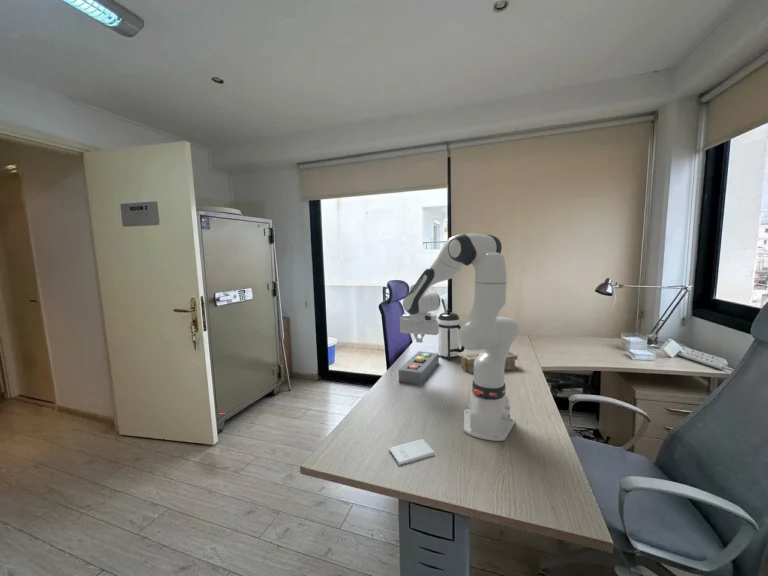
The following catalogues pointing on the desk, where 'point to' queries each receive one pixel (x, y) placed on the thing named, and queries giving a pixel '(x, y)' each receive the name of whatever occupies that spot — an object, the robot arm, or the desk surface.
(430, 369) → the button panel
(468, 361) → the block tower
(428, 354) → the sage button
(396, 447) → the external hard drive
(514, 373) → the desk surface
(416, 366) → the brick button
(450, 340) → the coffee press
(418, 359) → the ochre button
